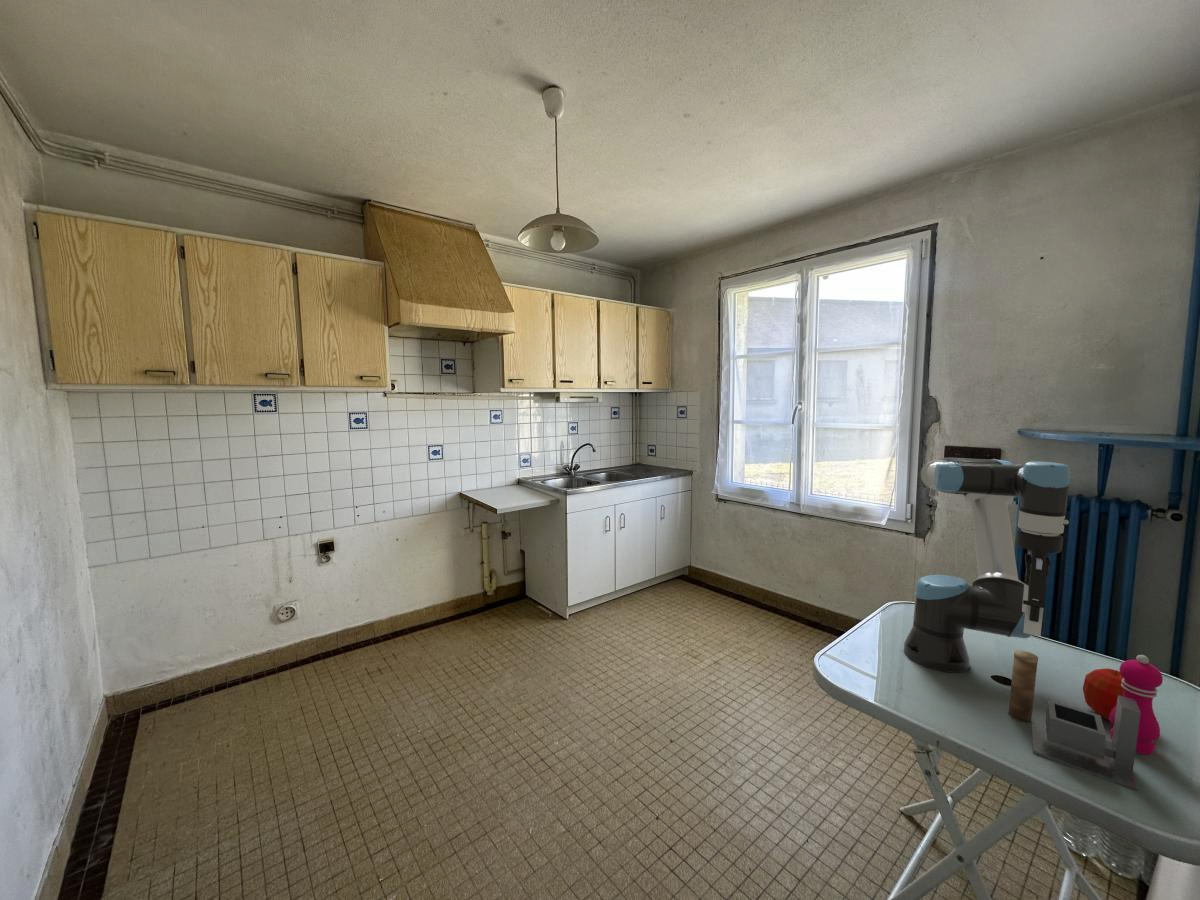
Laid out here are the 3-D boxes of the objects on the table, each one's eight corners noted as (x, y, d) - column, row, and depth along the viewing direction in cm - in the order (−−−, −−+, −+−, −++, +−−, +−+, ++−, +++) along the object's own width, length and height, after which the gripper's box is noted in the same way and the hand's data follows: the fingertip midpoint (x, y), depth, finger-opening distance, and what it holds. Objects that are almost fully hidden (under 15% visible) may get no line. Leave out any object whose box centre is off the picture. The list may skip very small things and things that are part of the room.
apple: (1072, 698, 117) (1077, 654, 116) (1129, 711, 113) (1135, 664, 112) (1090, 723, 109) (1096, 675, 107) (1153, 737, 104) (1160, 687, 103)
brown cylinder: (1008, 717, 110) (1014, 655, 109) (1008, 708, 113) (1014, 648, 112) (1031, 725, 108) (1038, 661, 106) (1031, 716, 111) (1037, 654, 109)
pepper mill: (1097, 733, 105) (1107, 647, 103) (1126, 731, 106) (1137, 645, 104) (1136, 757, 98) (1148, 665, 96) (1168, 755, 99) (1180, 664, 96)
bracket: (1033, 753, 99) (1040, 689, 98) (1031, 726, 107) (1037, 667, 106) (1136, 790, 90) (1146, 721, 88) (1126, 757, 98) (1134, 693, 96)
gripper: (1069, 548, 94) (1058, 650, 96) (1058, 523, 113) (1049, 609, 115) (1018, 540, 99) (1009, 638, 101) (1016, 518, 118) (1008, 601, 120)
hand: (1030, 623), depth 108 cm, fingers open, 13 cm apart
